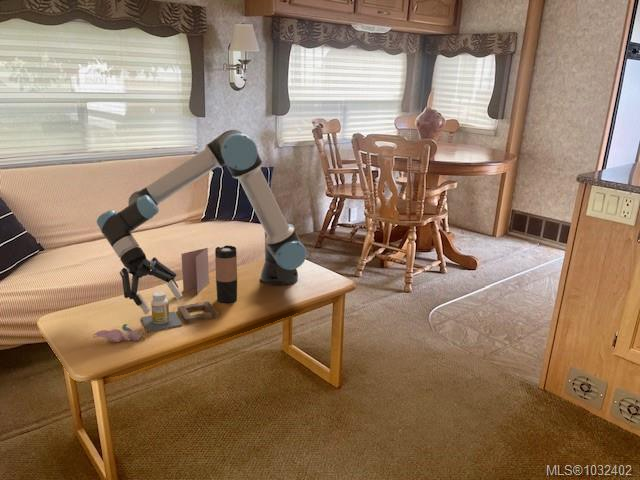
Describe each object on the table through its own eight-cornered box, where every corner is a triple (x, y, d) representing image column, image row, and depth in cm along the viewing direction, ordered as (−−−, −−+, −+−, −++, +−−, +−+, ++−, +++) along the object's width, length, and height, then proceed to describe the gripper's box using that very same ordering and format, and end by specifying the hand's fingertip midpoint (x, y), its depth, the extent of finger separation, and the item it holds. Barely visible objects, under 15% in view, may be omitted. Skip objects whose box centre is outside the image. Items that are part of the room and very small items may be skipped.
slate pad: (174, 312, 178) (174, 311, 178) (182, 325, 169) (182, 324, 169) (141, 318, 173) (141, 317, 173) (147, 332, 164) (147, 331, 164)
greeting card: (207, 282, 205) (206, 247, 200) (218, 288, 200) (217, 251, 195) (182, 290, 197) (180, 253, 192) (192, 296, 192) (190, 258, 187)
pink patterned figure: (144, 337, 164) (93, 336, 159) (146, 320, 162) (95, 318, 157) (144, 346, 158) (91, 346, 153) (146, 329, 157) (93, 328, 152)
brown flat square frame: (208, 305, 185) (208, 301, 184) (218, 317, 176) (217, 313, 175) (177, 310, 180) (177, 306, 179) (186, 323, 170) (185, 319, 170)
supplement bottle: (162, 315, 174) (160, 289, 171) (172, 320, 171) (171, 293, 169) (149, 321, 170) (146, 294, 167) (159, 325, 167) (157, 298, 164)
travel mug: (233, 305, 185) (232, 252, 179) (213, 303, 186) (211, 251, 180) (240, 297, 192) (239, 246, 186) (221, 294, 194) (219, 244, 188)
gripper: (154, 248, 183) (187, 297, 180) (92, 269, 163) (128, 324, 160) (163, 237, 179) (197, 286, 176) (101, 256, 158) (138, 313, 156)
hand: (164, 304), depth 168 cm, fingers open, 13 cm apart
